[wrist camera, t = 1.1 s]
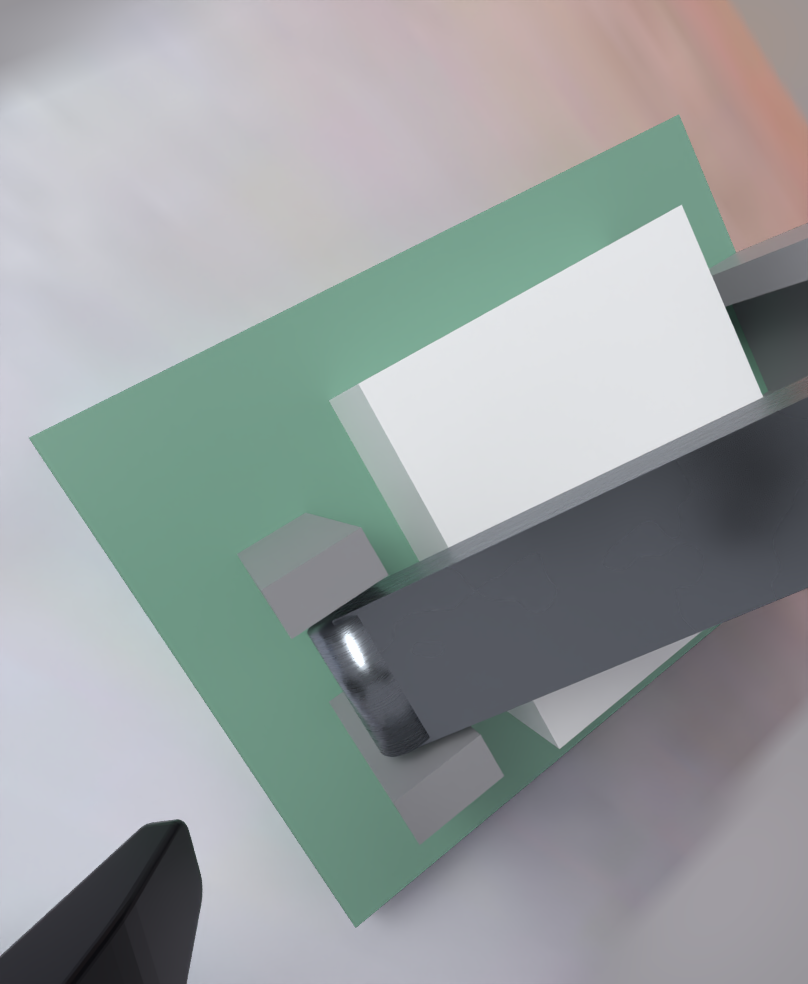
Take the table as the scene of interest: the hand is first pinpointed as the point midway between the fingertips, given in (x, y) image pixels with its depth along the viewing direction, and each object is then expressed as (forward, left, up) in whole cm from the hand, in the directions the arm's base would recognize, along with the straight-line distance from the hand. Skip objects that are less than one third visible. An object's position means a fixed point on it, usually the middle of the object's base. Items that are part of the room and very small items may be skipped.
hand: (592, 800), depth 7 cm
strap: (+6, 0, -3) cm, 7 cm away
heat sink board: (+6, 0, -12) cm, 13 cm away
